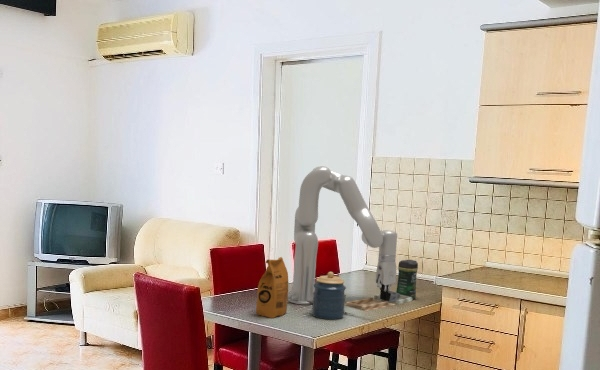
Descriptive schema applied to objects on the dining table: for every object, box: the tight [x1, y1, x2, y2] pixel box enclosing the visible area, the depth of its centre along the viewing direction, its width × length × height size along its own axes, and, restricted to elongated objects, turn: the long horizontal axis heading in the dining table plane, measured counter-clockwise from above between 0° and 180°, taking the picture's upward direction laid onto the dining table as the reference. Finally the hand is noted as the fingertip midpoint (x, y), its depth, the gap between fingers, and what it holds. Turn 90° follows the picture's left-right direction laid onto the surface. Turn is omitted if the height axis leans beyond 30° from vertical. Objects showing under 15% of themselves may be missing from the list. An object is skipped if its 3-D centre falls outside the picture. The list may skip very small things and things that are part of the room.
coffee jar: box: [395, 259, 419, 300], centre depth 265 cm, size 10×8×19 cm
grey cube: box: [388, 290, 401, 302], centre depth 254 cm, size 4×4×4 cm
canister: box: [311, 271, 347, 320], centre depth 223 cm, size 13×13×18 cm
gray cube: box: [381, 293, 396, 303], centre depth 250 cm, size 4×4×4 cm
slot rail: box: [344, 294, 414, 312], centre depth 246 cm, size 36×12×3 cm, turn 137°
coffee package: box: [255, 256, 289, 319], centre depth 219 cm, size 10×12×22 cm
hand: (383, 299), depth 248 cm, fingers closed
